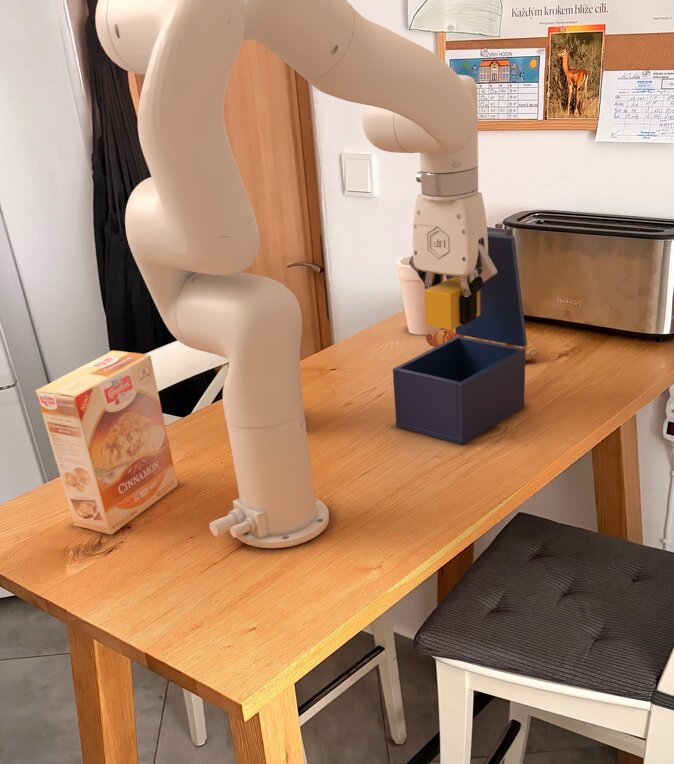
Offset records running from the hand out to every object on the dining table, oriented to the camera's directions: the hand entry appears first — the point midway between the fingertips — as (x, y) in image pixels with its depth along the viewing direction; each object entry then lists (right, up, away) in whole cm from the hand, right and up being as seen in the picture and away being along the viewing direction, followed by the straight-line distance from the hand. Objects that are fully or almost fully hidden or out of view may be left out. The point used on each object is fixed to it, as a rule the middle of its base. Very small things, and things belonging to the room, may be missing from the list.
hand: (453, 317), depth 131 cm
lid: (+5, +5, +3) cm, 7 cm away
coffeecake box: (-46, -28, -4) cm, 54 cm away
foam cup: (0, +12, +45) cm, 47 cm away
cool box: (+2, -12, +10) cm, 16 cm away
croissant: (+9, +2, +30) cm, 31 cm away
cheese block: (0, 0, 0) cm, 0 cm away
